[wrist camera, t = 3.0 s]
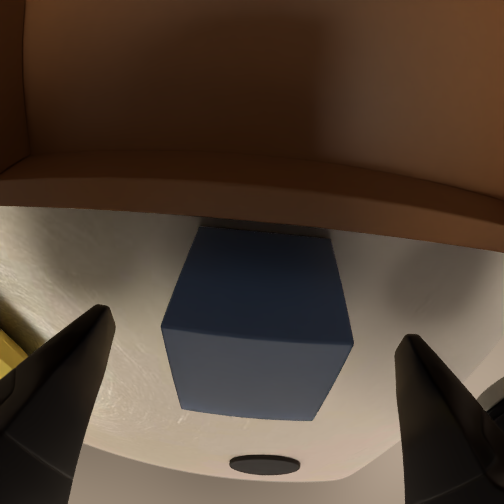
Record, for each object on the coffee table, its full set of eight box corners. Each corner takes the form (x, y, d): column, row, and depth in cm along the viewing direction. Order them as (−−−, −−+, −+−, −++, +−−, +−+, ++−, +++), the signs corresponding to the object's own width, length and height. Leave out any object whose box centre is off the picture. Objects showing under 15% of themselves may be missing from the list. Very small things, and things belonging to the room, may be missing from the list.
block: (307, 326, 11) (312, 421, 8) (203, 316, 12) (180, 409, 8) (331, 238, 9) (355, 344, 6) (199, 225, 9) (159, 325, 6)
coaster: (313, 459, 22) (313, 463, 22) (280, 474, 25) (280, 477, 25) (243, 451, 21) (243, 455, 21) (221, 465, 24) (220, 469, 24)
